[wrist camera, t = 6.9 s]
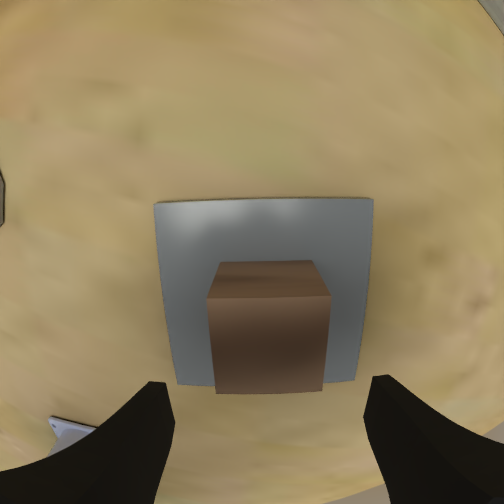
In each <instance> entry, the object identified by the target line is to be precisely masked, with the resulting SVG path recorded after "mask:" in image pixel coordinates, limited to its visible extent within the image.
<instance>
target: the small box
mask: <svg viewBox="0 0 504 504" xmlns="http://www.w3.org/2000/svg"><path fill="white" fill-rule="evenodd" d="M478 1H479V2H480V3H481V5H482V6H483V7H484V8H485V10H486V11H487V12H488V14H489V15H490V16H491V18H492V19H493V21H494V22H495V23H496V25H497V26H498V28H499V29H500V31H501V32H502V33H503V35H504V0H478Z"/></svg>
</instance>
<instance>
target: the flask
mask: <svg viewBox="0 0 504 504" xmlns="http://www.w3.org/2000/svg"><path fill="white" fill-rule="evenodd" d="M3 187H4V184H3V181H2V178H1V176H0V225H1V224H2V223H3Z"/></svg>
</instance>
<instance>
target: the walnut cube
mask: <svg viewBox="0 0 504 504" xmlns="http://www.w3.org/2000/svg"><path fill="white" fill-rule="evenodd" d="M331 298H332V295H331V294H330V292H329V290H328V288H327V286H326V285H325V283H324V281H323V279H322V277H321V276H320V274H319V272H318V270H317V269H316V267H315V265H314V263H313V262H312V260H292V261H243V262H220V264H219V266H218V269H217V272H216V274H215V277H214V279H213V282H212V285H211V287H210V290H209V293H208V295H207V298H206V301H207V312H208V323H209V334H210V344H211V353H212V363H213V372H214V380H215V389H216V394H281V393H302V392H317V391H322V387H323V379H324V371H325V363H326V354H327V344H328V334H329V323H330V311H331Z"/></svg>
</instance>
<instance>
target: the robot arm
mask: <svg viewBox="0 0 504 504" xmlns="http://www.w3.org/2000/svg"><path fill="white" fill-rule="evenodd" d="M363 418H364V423H365V427H366V432H367V436H368V440H369V442H370V445H371V448H372V450H373V453H374V455H375V458H376V461H377V463H378V466H379V468H380V471H381V473H382V476H383V479H384V481H385V484H386V487H387V490H388V493H389V498H390V502H391V504H504V444H502V443H499V442H496V441H493V440H491V439H488V438H485V437H483V436H480V435H478V434H476V433H474V432H472V431H470V430H468V429H466V428H464V427H462V426H460V425H458V424H456V423H455V422H453V421H451V420H450V419H448V418H446V417H445V416H443V415H442V414H440V413H439V412H437V411H436V410H434V409H433V408H431V407H430V406H429V405H427V404H426V403H425V402H423V401H422V400H421V399H419V398H418V397H417V396H415V395H414V394H413V393H412V392H410V391H409V390H408V389H407V388H405V387H404V386H403V385H402V384H400V383H399V382H398V381H397V380H395V379H394V378H393V377H391V376H390V375H389V374H387V375H380V376H373V378H372V383H371V387H370V391H369V396H368V400H367V404H366V408H365V412H364V415H363ZM48 421H49V423H50V425H51V427H52V428H53V430H54V432H55V434H56V436H57V437H58V440H57V441H56V443H55V445H54V446H53V448H52V449H51V451H50V453H49V454H48V456H47V457H46V458H44V459H41V460H39V461H36V462H34V463H31V464H28V465H25V466H21V467H18V468H14V469H9V470H5V471H0V504H154V500H155V496H156V492H157V489H158V486H159V483H160V480H161V476H162V473H163V470H164V467H165V464H166V461H167V458H168V455H169V451H170V448H171V444H172V439H173V433H174V427H175V419H174V416H173V412H172V408H171V403H170V399H169V395H168V391H167V386H166V383H164V382H152V381H149V382H148V383H147V384H146V385H145V386H144V387H143V388H142V389H141V390H140V391H138V392H137V393H136V394H135V395H134V396H133V397H132V398H131V399H130V400H129V401H128V402H127V403H126V404H125V405H124V406H122V407H121V408H120V409H119V410H118V411H117V412H116V413H115V414H113V415H112V416H111V417H110V418H109V419H107V420H106V421H105V422H104V423H102V424H101V425H100V426H99V427H97V428H93V427H89V426H85V425H80V424H76V423H73V422H69V421H65V420H61V419H58V418H54V417H49V419H48Z"/></svg>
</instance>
